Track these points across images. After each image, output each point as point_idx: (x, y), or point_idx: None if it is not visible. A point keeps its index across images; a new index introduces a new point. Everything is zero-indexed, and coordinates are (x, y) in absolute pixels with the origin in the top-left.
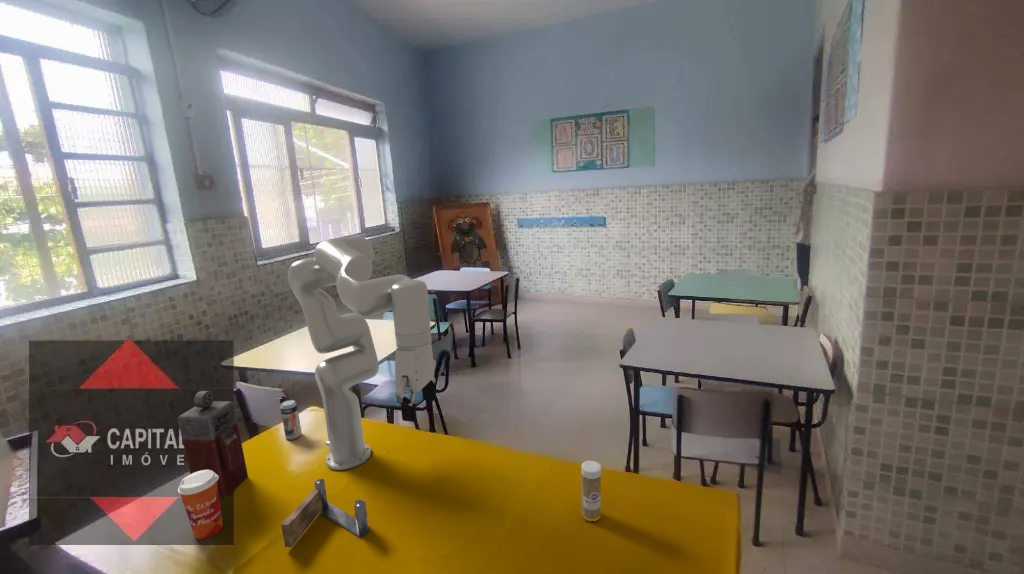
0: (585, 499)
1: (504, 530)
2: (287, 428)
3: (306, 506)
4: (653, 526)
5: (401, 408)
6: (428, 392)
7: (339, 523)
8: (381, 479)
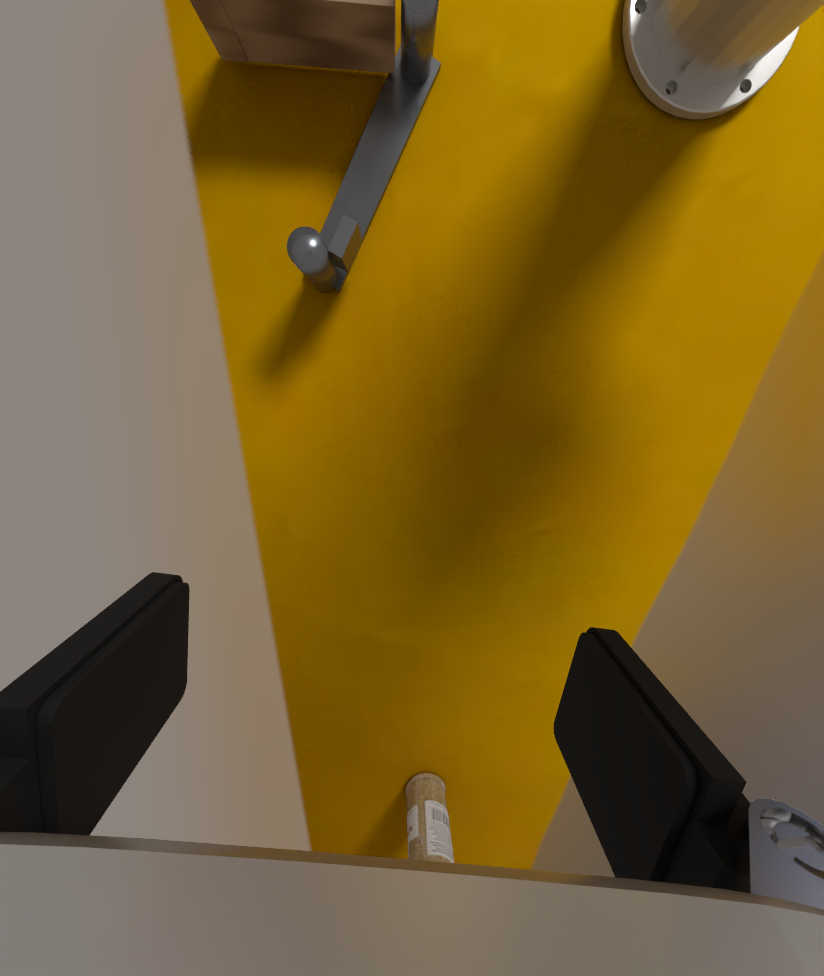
0: (412, 831)
1: (370, 631)
2: None
3: (302, 3)
4: None
5: (56, 651)
6: (602, 754)
7: (344, 178)
8: (561, 232)
